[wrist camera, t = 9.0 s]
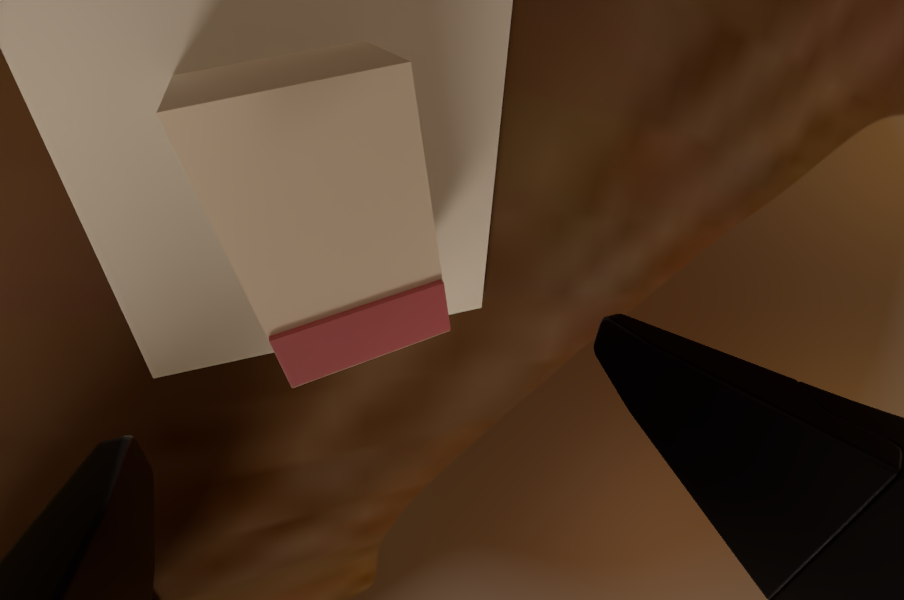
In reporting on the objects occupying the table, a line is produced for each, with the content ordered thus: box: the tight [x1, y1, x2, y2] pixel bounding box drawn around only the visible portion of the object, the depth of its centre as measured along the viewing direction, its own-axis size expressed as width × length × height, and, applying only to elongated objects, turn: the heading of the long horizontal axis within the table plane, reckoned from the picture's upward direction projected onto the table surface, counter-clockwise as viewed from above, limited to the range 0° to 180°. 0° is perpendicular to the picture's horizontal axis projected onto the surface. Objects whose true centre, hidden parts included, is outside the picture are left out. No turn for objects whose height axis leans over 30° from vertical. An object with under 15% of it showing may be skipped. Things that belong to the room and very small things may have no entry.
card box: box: [156, 40, 451, 388], centre depth 14 cm, size 8×6×5 cm, turn 6°
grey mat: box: [0, 0, 513, 379], centre depth 16 cm, size 13×14×1 cm
